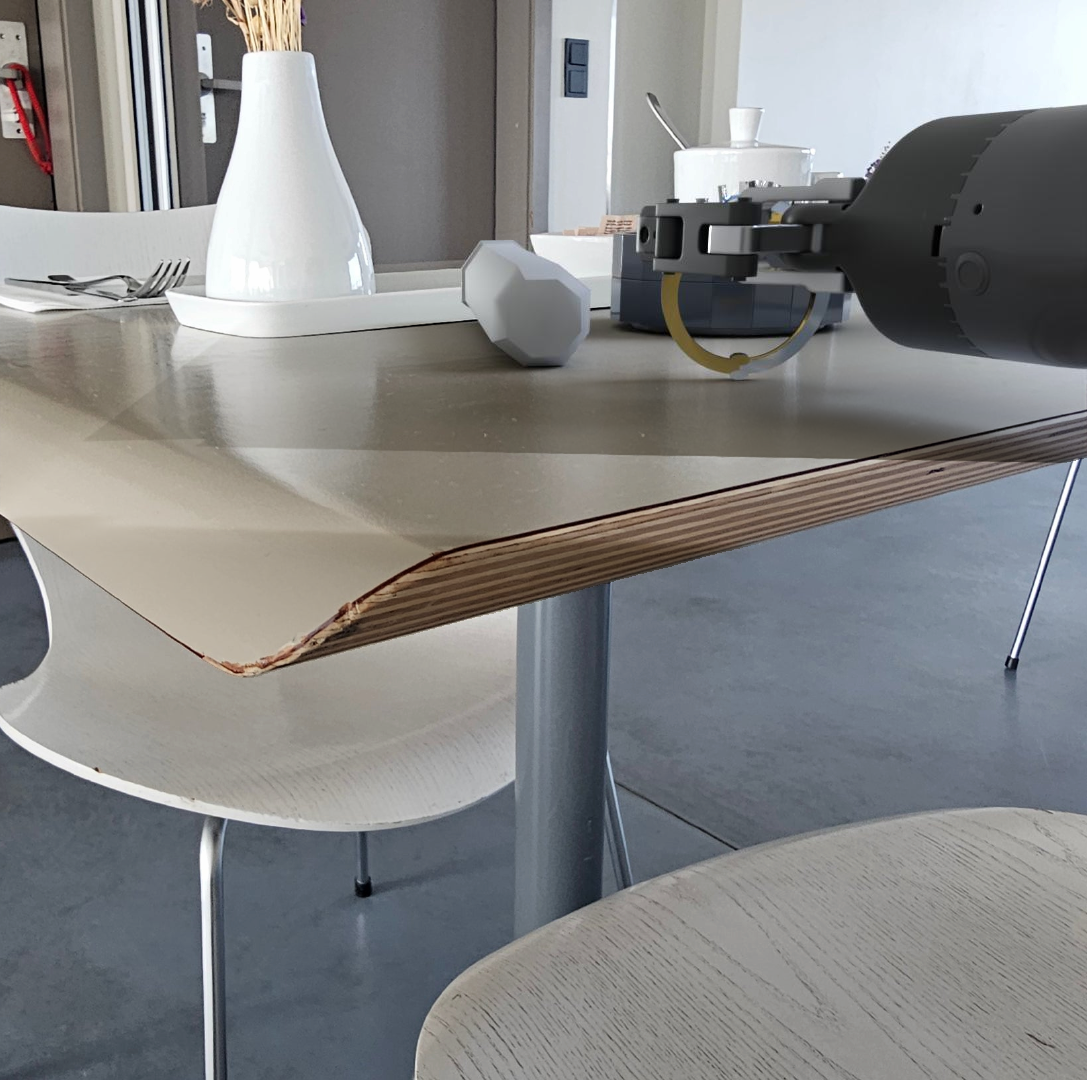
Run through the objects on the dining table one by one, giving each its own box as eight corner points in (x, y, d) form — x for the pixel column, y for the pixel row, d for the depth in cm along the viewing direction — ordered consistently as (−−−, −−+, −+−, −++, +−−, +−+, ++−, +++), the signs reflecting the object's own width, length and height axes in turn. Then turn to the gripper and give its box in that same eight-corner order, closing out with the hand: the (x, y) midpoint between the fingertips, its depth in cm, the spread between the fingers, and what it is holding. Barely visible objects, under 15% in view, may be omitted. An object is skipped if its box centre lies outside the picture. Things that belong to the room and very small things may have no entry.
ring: (816, 374, 52) (835, 180, 49) (826, 384, 49) (847, 178, 46) (656, 373, 53) (666, 182, 50) (656, 382, 50) (667, 181, 47)
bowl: (745, 311, 81) (751, 227, 79) (899, 329, 69) (910, 230, 67) (568, 322, 76) (570, 232, 74) (702, 343, 63) (708, 236, 62)
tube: (620, 279, 53) (551, 253, 76) (509, 241, 52) (473, 226, 75) (580, 394, 54) (524, 333, 78) (471, 358, 54) (448, 308, 77)
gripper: (1220, 110, 38) (851, 138, 52) (882, 101, 32) (572, 135, 46) (1172, 347, 40) (833, 313, 55) (853, 377, 35) (568, 330, 49)
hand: (714, 231), depth 51 cm, fingers closed on ring, 6 cm apart
